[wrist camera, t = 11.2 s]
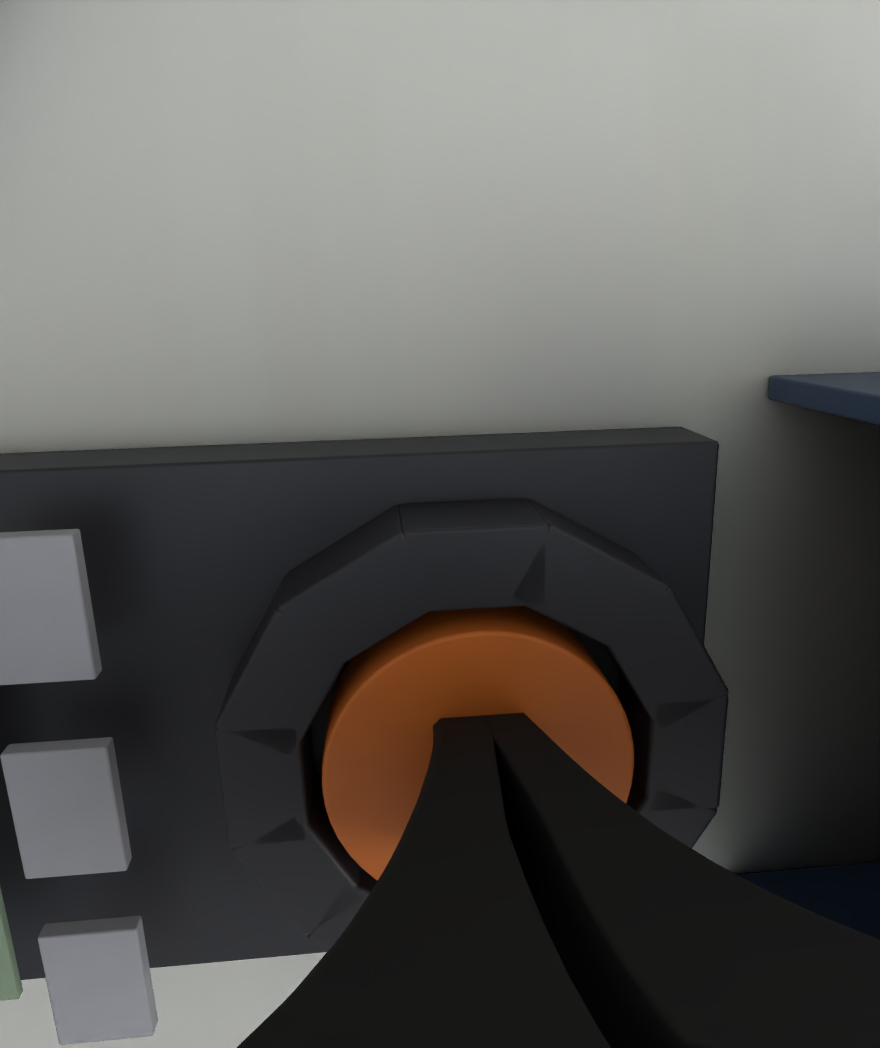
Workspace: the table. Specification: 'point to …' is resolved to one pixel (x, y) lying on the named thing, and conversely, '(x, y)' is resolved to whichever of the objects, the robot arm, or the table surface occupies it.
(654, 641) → the control panel
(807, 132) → the table surface
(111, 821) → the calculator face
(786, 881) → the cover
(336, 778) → the equals key
